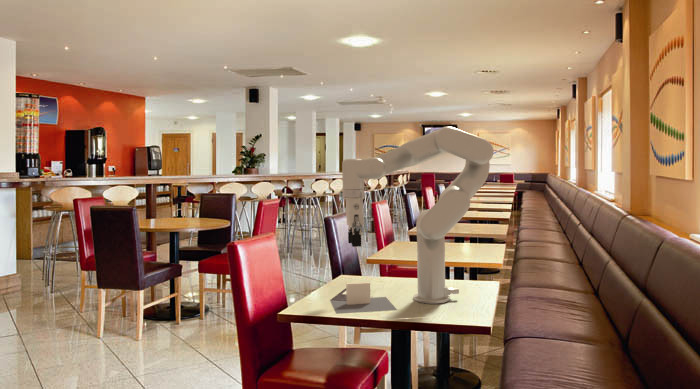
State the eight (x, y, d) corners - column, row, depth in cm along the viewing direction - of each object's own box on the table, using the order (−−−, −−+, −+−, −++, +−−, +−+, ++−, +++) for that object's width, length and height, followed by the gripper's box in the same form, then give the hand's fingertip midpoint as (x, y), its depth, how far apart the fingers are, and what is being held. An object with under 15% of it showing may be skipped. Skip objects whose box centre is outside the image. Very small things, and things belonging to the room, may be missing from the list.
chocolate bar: (330, 299, 196) (345, 288, 214) (330, 302, 196) (345, 290, 214) (355, 301, 194) (368, 289, 211) (355, 303, 194) (368, 292, 211)
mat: (385, 297, 200) (385, 296, 199) (397, 311, 182) (397, 309, 182) (329, 301, 197) (329, 299, 197) (336, 314, 179) (336, 313, 179)
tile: (369, 302, 193) (369, 281, 192) (370, 303, 191) (370, 283, 190) (346, 303, 191) (346, 283, 191) (347, 304, 190) (346, 284, 189)
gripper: (368, 195, 187) (369, 247, 188) (360, 192, 204) (361, 240, 205) (346, 196, 186) (347, 248, 187) (339, 193, 203) (340, 241, 204)
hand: (354, 244), depth 196 cm, fingers open, 7 cm apart
